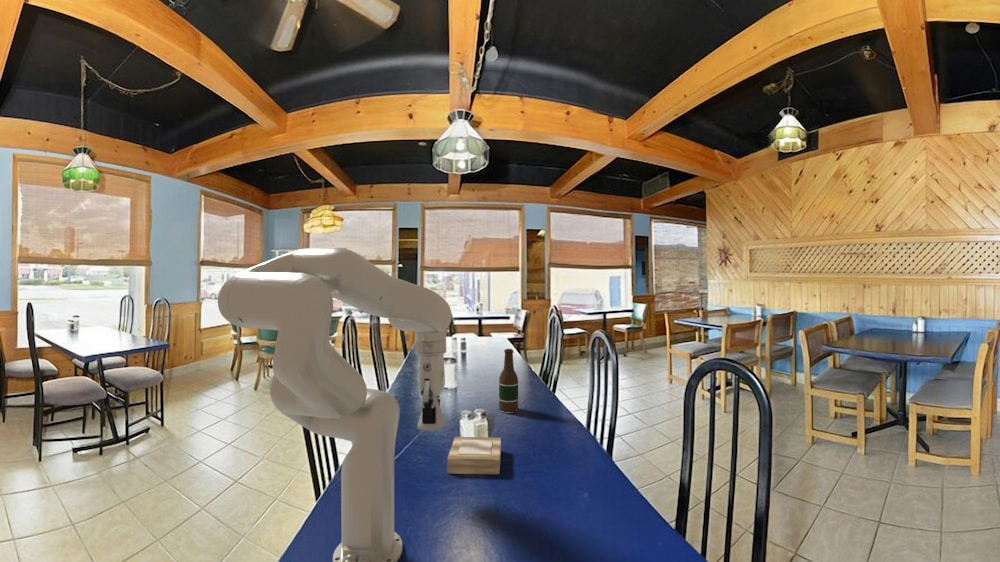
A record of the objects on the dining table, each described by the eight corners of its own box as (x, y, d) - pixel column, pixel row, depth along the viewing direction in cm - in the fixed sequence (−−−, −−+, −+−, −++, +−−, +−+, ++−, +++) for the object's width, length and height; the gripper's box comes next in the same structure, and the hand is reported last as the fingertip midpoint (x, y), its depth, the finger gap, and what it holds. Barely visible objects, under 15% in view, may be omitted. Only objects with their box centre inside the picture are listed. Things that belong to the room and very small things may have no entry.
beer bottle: (496, 412, 151) (496, 350, 151) (501, 406, 159) (502, 347, 158) (515, 414, 149) (515, 352, 149) (520, 408, 157) (520, 348, 156)
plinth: (499, 474, 105) (499, 458, 105) (447, 473, 106) (447, 457, 105) (500, 450, 119) (500, 437, 119) (454, 449, 120) (454, 436, 119)
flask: (440, 433, 94) (440, 391, 94) (411, 430, 95) (411, 390, 95) (449, 421, 101) (449, 383, 101) (423, 419, 102) (423, 381, 102)
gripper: (440, 354, 89) (440, 433, 90) (451, 340, 106) (451, 406, 107) (407, 354, 89) (407, 433, 90) (423, 340, 106) (423, 406, 107)
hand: (431, 418), depth 98 cm, fingers closed on flask, 4 cm apart
